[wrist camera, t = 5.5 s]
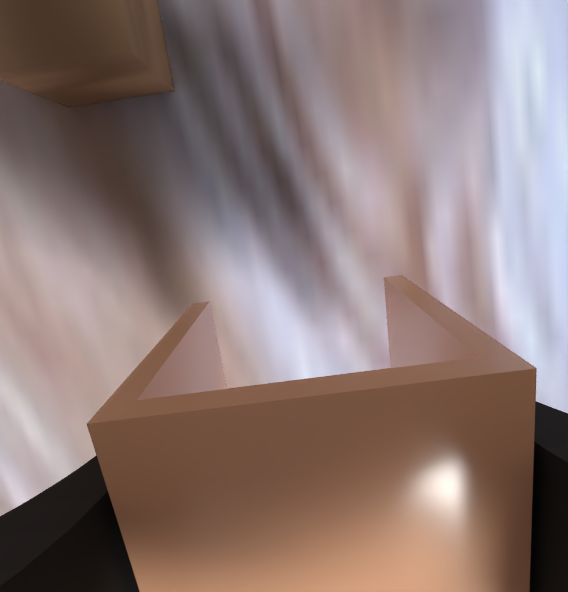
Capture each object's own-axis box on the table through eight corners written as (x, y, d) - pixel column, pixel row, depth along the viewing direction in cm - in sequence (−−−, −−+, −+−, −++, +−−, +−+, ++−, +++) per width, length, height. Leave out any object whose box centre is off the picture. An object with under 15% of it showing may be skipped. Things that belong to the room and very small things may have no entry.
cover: (229, 477, 12) (180, 720, 7) (192, 303, 11) (86, 423, 5) (413, 456, 12) (526, 689, 6) (401, 274, 11) (536, 368, 5)
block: (69, 107, 14) (-15, 74, 10) (37, -20, 13) (-71, -111, 9) (175, 91, 14) (131, 51, 10) (150, -38, 13) (90, -140, 9)
